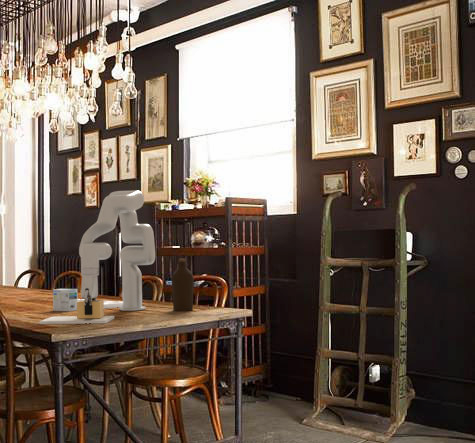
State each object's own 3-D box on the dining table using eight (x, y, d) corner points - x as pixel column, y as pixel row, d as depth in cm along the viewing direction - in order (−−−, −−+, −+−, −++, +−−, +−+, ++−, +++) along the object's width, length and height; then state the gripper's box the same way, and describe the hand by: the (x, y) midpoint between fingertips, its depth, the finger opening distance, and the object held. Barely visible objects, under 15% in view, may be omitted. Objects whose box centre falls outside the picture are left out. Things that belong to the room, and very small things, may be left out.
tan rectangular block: (81, 316, 280) (80, 300, 280) (103, 316, 279) (103, 299, 279) (77, 318, 274) (76, 301, 274) (100, 318, 273) (99, 301, 273)
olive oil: (182, 311, 304) (182, 259, 305) (167, 310, 311) (166, 259, 312) (198, 309, 312) (197, 258, 313) (183, 308, 319) (182, 258, 320)
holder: (58, 304, 357) (58, 299, 357) (88, 302, 368) (88, 297, 368) (95, 310, 322) (95, 305, 322) (127, 307, 333) (127, 302, 333)
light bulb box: (78, 310, 321) (78, 288, 321) (69, 311, 315) (69, 289, 315) (61, 309, 326) (61, 288, 326) (52, 311, 319) (52, 289, 320)
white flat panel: (52, 319, 285) (52, 316, 285) (114, 318, 284) (114, 315, 284) (39, 324, 269) (39, 320, 269) (105, 323, 268) (105, 320, 268)
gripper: (87, 271, 286) (87, 311, 285) (75, 273, 268) (76, 316, 268) (103, 270, 285) (104, 311, 285) (93, 273, 268) (93, 316, 268)
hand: (90, 313), depth 276 cm, fingers closed on tan rectangular block, 6 cm apart
